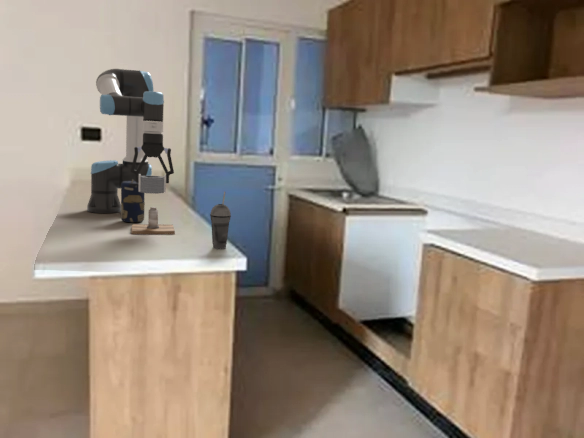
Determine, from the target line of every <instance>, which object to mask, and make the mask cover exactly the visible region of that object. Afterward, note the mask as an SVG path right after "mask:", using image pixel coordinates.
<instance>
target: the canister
mask: <svg viewBox="0 0 584 438" xmlns="http://www.w3.org/2000/svg"><path fill="white" fill-rule="evenodd" d="M120 190H121V191H120V194H121V195H120V196H121V197H120V203H121V212H120V219H121V221H122V222H127V223H139V222H140V223H141V222H143V221H144V220H145V206H146V205H145V204H146V203H145V200H146V199H145V193H141V192H139V183H136V181H134V180H133V179H132V181H124V182H122V183H121V189H120Z"/></svg>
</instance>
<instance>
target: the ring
mask: <svg viewBox="0 0 584 438" xmlns="http://www.w3.org/2000/svg"><path fill="white" fill-rule="evenodd" d="M140 192H141V193H144V194H152V195H153V194H155V195H156V194H165V192H164V176H161V175H151V176H141V185H140Z"/></svg>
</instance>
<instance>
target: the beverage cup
mask: <svg viewBox="0 0 584 438" xmlns="http://www.w3.org/2000/svg"><path fill="white" fill-rule="evenodd" d="M225 198H226V191H223V195H222V203H218V204H216V205H213V207H212V208H211V210H210V213H209V216H210V221H211V240H212V249H214V250H226V248H227V244H228V235H229V228H230V226H229V225H230V222H231V217H232V216H231V210H230V208H229V206H227V205H226V204H225Z"/></svg>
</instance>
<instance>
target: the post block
mask: <svg viewBox="0 0 584 438" xmlns="http://www.w3.org/2000/svg"><path fill="white" fill-rule="evenodd" d="M149 208H150V209H148V223H147V224H146V223H144V224H143V223H137V224H135V223H133V224H131V235H176V231H175V227H174V224H168V223H166V224H163V223H161V224H159V210H158V208H157V207H156V206H150V207H149Z"/></svg>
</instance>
